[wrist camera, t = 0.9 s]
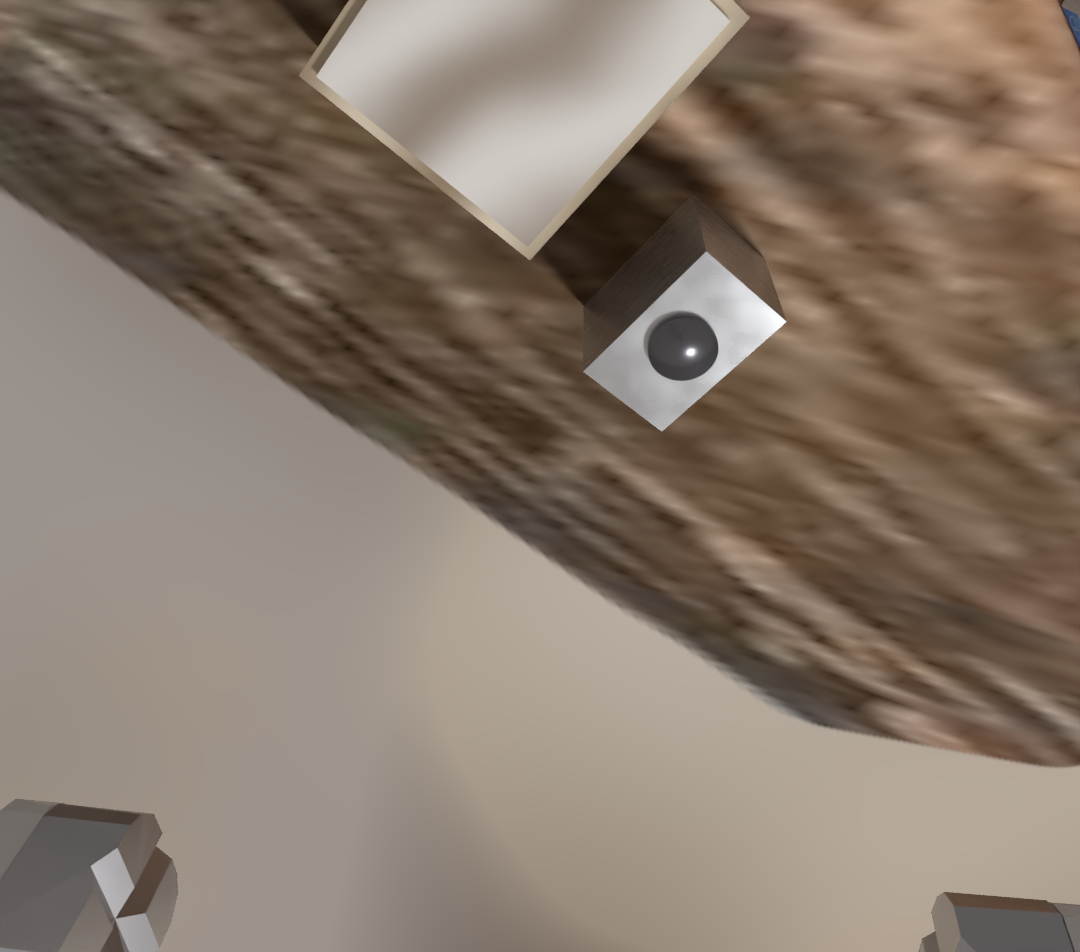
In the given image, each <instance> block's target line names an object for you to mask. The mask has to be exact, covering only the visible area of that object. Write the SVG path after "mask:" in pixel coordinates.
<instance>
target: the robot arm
mask: <svg viewBox="0 0 1080 952" xmlns="http://www.w3.org/2000/svg"><path fill="white" fill-rule="evenodd" d="M161 835H162V831H161V829H160V827H159V824H158V822H157V820H156V818H155V815H154V814H149V813H140V812H131V811H122V810H113V809H104V808H94V807H86V806H77V805H67V804H64V803H55V802H45V801H34V800H24V799H15V800H14V801H12V802H11V803H10V804H8V805H7V806H6V807H4V808H3V809H2V810H0V952H155V951H156V950H157V949H159V948H160V946H161V944H162V941H163V939H164V937H165V935H166V932H167V930H168V928H169V926H170V924H171V921H172V917H173V913H174V908H175V903H176V899H177V895H178V883H177V872H176V869H175V866H174V863H173V860H172V859H171V858H170V857H169V856H168V855H166V854H165V853H164V852H163V851H161V850H160V849H159V848H157V847H156V845H157V843H158V841H159V839H160V837H161ZM931 913H932V918H933V922H934V927H935V932H933V933H932V934H930V935H928V936H926V937H924V938H922V942H921V945H920V949H919V952H1080V905H1074V904H1061V903H1050V902H1047V901H1046V900H1034V899H1021V898H1010V897H998V896H986V895H973V894H961V893H949V892H943V893H942V894H940V895H939V896H938V897H937V899H936V901H935V904H934V906H933V909H932V912H931Z"/></svg>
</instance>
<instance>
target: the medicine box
mask: <svg viewBox="0 0 1080 952" xmlns="http://www.w3.org/2000/svg"><path fill="white" fill-rule="evenodd" d="M1062 9H1063V11H1064V13H1065V15H1066V17H1067V20H1068V22H1069V24H1070V26H1071V29H1072V31H1073V33H1074V36H1075V38H1076V40H1077V43H1078V45H1079V47H1080V0H1064V2H1063V3H1062Z"/></svg>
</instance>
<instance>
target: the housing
mask: <svg viewBox="0 0 1080 952" xmlns="http://www.w3.org/2000/svg"><path fill="white" fill-rule="evenodd" d="M784 323H786V319H785V316H784V313H783V310H782V307H781V304H780V302H779V299H778V296H777V293H776V290H775V287H774V284H773V281H772V279H771V276H770V273H769V270H768V267H767V264H766V261H765V259H764V258H763V257H762V256H761V255H760V254H759V253H758V252H757V251H756V250H754V249H753V248H752V247H751V246H750V245H749V244H748V243H747V242H746V241H744V240H743V239H742V238H741V237H740V236H739V235H738V234H737V233H736V232H734V231H733V230H732V229H731V228H730V227H729V226H728V225H727V224H726V223H725V222H723V221H722V220H721V219H720V218H719V217H718V216H717V215H716V214H715V213H713V212H712V211H711V210H710V209H709V208H708V207H707V206H706V205H705V204H703V203H702V202H701V201H700V200H699V199H698V198H697V197H696V196H695V195H693V194H692V195H691V196H690V197H689V198H688V199H687V200H686V201H685V202H684V203H683V204H682V205H681V206H680V207H679V208H678V209H677V211H676V212H675V213H674V214H673V215H672V216H671V217H670V218H669V219H668V220H667V221H666V222H665V223H664V224H663V225H662V226H661V227H660V228H659V229H658V230H657V231H656V232H655V233H654V234H653V235H652V236H651V237H650V238H649V239H648V240H647V241H646V242H645V243H644V244H643V245H642V246H641V247H640V248H639V249H638V250H637V252H636V253H635V254H634V255H633V256H632V257H631V258H630V259H629V260H628V261H627V262H626V263H625V264H624V265H623V266H622V267H621V268H620V269H619V270H618V271H617V272H616V273H615V274H614V275H613V276H612V277H611V278H610V279H609V280H608V281H607V282H606V283H605V284H604V285H603V286H602V287H601V288H600V289H599V290H598V292H597V293H596V294H595V295H594V296H593V297H592V298H591V299H590V300H589V301H588V302H587V303H586V304H585V305H584V333H583V372H584V373H586V374H587V375H588V376H590V377H591V378H592V379H594V380H595V381H596V382H598V383H599V384H600V385H601V386H603V387H604V388H605V389H607V390H608V391H609V392H611V393H612V394H613V395H615V396H616V397H617V398H618V399H620V400H621V401H622V402H624V403H625V404H626V405H628V406H629V407H630V408H632V409H633V410H634V411H635V412H637V413H638V414H639V415H641V416H642V417H643V418H645V419H646V420H647V421H649V422H650V423H651V424H652V425H654V426H655V427H656V428H658V429H659V430H660V431H663V430H664V429H665V428H666V427H668V426H669V425H670V424H671V423H672V422H673V421H674V420H675V419H677V418H678V417H679V416H680V415H681V414H682V413H683V412H685V411H686V410H687V409H688V408H689V407H690V406H691V405H693V404H694V403H695V402H696V401H697V400H698V399H699V398H700V397H702V396H703V395H704V394H705V393H706V392H707V391H708V390H710V389H711V388H712V387H713V386H714V385H715V384H716V383H717V382H719V381H720V380H721V379H722V378H723V377H724V376H725V375H727V374H728V373H729V372H730V371H731V370H732V369H733V368H735V367H736V366H737V365H738V364H739V363H740V362H741V361H742V360H744V359H745V358H746V357H747V356H748V355H749V354H750V353H752V352H753V351H754V350H755V349H756V348H757V347H758V346H760V345H761V344H762V343H763V342H764V341H765V340H766V339H767V338H769V337H770V336H771V335H772V334H773V333H774V332H775V331H777V330H778V329H779V328H780V327H781V326H782V325H783V324H784Z"/></svg>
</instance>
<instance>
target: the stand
mask: <svg viewBox="0 0 1080 952" xmlns="http://www.w3.org/2000/svg"><path fill="white" fill-rule="evenodd" d="M749 18H750V17H749V15H748V14H747V12H746V10H745V9H744V7H743V5H742V4H741V2H740V0H349V1H348V2H347V4H346V5H345V7H344V8H343V10H342V11H341V13H340V15H339V16H338V18H337V19H336V21H335V22H334V24H333V25H332V27H331V28H330V30H329V31H328V33H327V34H326V36H325V37H324V39H323V40H322V42H321V43H320V45H319V46H318V48H317V49H316V51H315V52H314V54H313V55H312V57H311V58H310V60H309V61H308V63H307V64H306V66H305V67H304V69H303V71H302V72H301V74H300V75H299V76H300V77H301V78H302V79H304V80H305V81H306V82H307V83H309V84H310V85H311V86H312V87H314V88H315V89H316V90H317V91H319V92H320V93H321V94H322V95H324V96H325V97H326V98H327V99H329V100H330V101H331V102H332V103H334V104H335V105H336V106H337V107H339V108H340V109H341V110H342V111H344V112H345V113H346V114H347V115H349V116H350V117H351V118H352V119H354V120H355V121H356V122H357V123H359V124H360V125H361V126H362V127H364V128H365V129H366V130H367V131H369V132H370V133H371V134H372V135H374V136H375V137H376V138H377V139H379V140H380V141H381V142H382V143H384V144H385V145H386V146H387V147H389V148H390V149H391V150H392V151H394V152H395V153H396V154H397V155H399V156H400V157H401V158H402V159H404V160H405V161H406V162H407V163H409V164H410V165H411V166H412V167H414V168H415V169H416V170H417V171H419V172H420V173H421V174H422V175H424V176H425V177H426V178H427V179H429V180H430V181H431V182H432V183H434V184H435V185H436V186H437V187H439V188H440V189H441V190H442V191H444V192H445V193H446V194H447V195H449V196H450V197H451V198H452V199H454V200H455V201H456V202H457V203H459V204H460V205H461V206H462V207H464V208H465V209H466V210H467V211H469V212H470V213H471V214H472V215H474V216H475V217H476V218H477V219H479V220H480V221H481V222H482V223H484V224H485V225H486V226H487V227H489V228H490V229H491V230H492V231H494V232H495V233H496V234H497V235H499V236H500V237H501V238H502V239H504V240H505V241H506V242H507V243H509V244H510V245H511V246H512V247H514V248H515V249H516V250H517V251H519V252H520V253H521V254H522V255H524V256H525V257H526V258H527V259H529V260H531V258H532V257H533V256H534V255H535V254H536V253H537V252H538V251H539V250H540V249H541V247H542V246H543V245H544V244H545V243H546V242H547V241H548V240H549V239H550V238H551V236H552V235H553V234H554V233H555V232H556V231H557V230H558V229H559V228H560V226H561V225H562V224H563V223H564V222H565V221H566V220H567V219H568V218H569V217H570V215H571V214H572V213H573V212H574V211H575V210H576V209H577V208H578V207H579V206H580V204H581V203H582V202H583V201H584V200H585V199H586V198H587V197H588V196H589V195H590V193H591V192H592V191H593V190H594V189H595V188H596V187H597V186H598V185H599V183H600V182H601V181H602V180H603V179H604V178H605V177H606V176H607V175H608V174H609V172H610V171H611V170H612V169H613V168H614V167H615V166H616V165H617V164H618V163H619V161H620V160H621V159H622V158H623V157H624V156H625V155H626V154H627V153H628V152H629V150H630V149H631V148H632V147H633V146H634V145H635V144H636V143H637V142H638V140H639V139H640V138H641V137H642V136H643V135H644V134H645V133H646V132H647V131H648V129H649V128H650V127H651V126H652V125H653V124H654V123H655V122H656V121H657V120H658V118H659V117H660V116H661V115H662V114H663V113H664V112H665V111H666V110H667V109H668V107H669V106H670V105H671V104H672V103H673V102H674V101H675V100H676V99H677V97H678V96H679V95H680V94H681V93H682V92H683V91H684V90H685V89H686V88H687V86H688V85H689V84H690V83H691V82H692V81H693V80H694V79H695V78H696V77H697V75H698V74H699V73H700V72H701V71H702V70H703V69H704V68H705V67H706V66H707V64H708V63H709V62H710V61H711V60H712V59H713V58H714V57H715V56H716V54H717V53H718V52H719V51H720V50H721V49H722V48H723V47H724V46H725V45H726V43H727V42H728V41H729V40H730V39H731V38H732V37H733V36H734V35H735V34H736V32H737V31H738V30H739V29H740V28H741V27H742V26H743V25H744V24H745V23H746V21H747V20H748V19H749Z"/></svg>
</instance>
